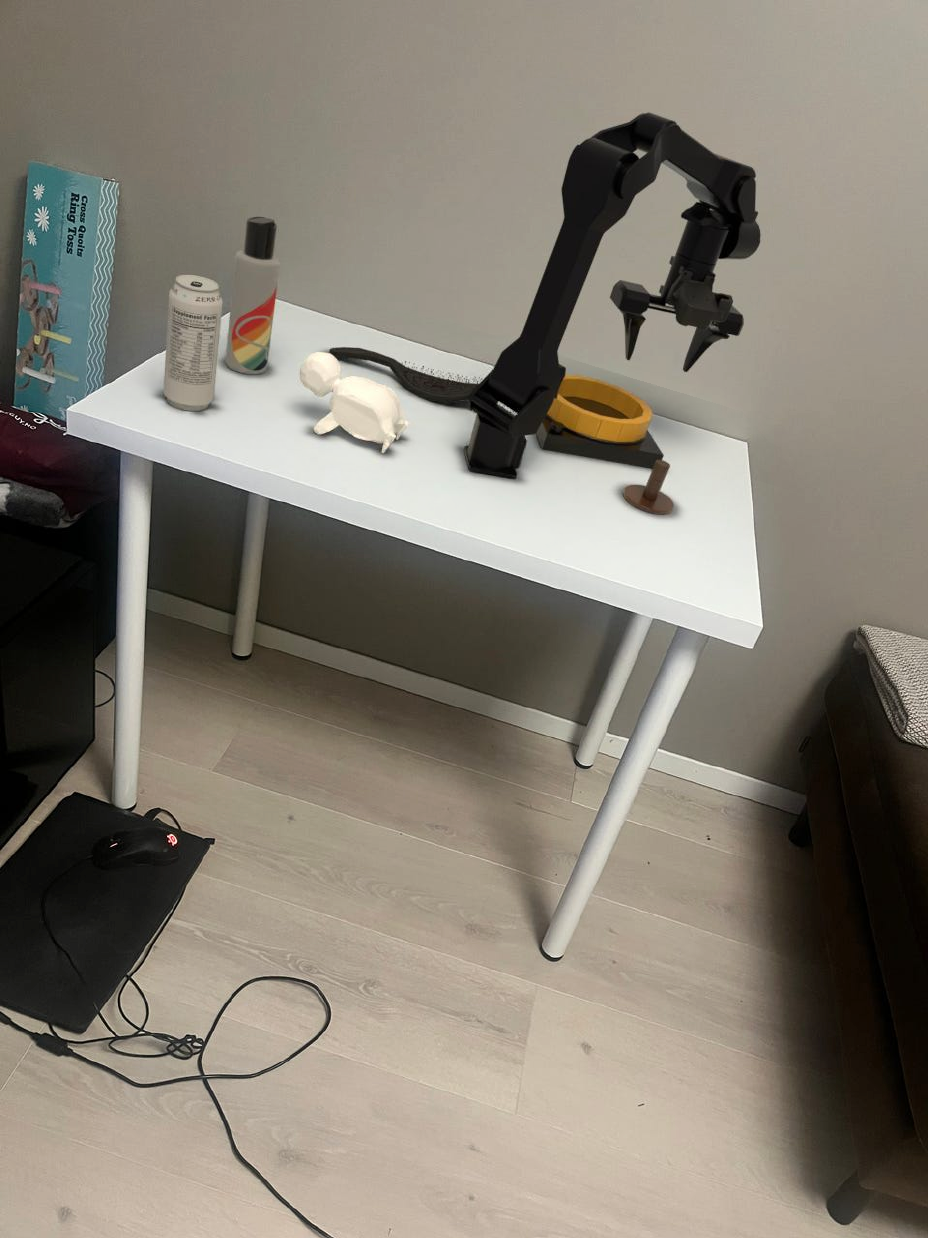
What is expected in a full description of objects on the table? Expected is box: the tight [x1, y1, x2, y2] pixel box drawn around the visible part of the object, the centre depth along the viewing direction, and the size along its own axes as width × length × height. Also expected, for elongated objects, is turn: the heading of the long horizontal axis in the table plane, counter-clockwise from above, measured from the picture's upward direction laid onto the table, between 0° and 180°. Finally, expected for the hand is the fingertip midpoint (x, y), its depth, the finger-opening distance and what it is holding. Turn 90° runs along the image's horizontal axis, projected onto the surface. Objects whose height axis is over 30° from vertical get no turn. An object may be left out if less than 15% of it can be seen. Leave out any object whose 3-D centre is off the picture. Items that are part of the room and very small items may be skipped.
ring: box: [547, 374, 653, 442], centre depth 136 cm, size 16×16×3 cm
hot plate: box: [535, 397, 665, 469], centre depth 138 cm, size 18×18×3 cm
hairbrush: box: [328, 346, 484, 404], centre depth 137 cm, size 8×4×25 cm
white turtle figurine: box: [299, 351, 410, 454], centre depth 117 cm, size 8×8×15 cm
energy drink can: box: [163, 274, 224, 412], centre depth 110 cm, size 6×6×15 cm
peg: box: [622, 459, 675, 516], centre depth 122 cm, size 7×7×6 cm
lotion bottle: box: [225, 216, 281, 375], centre depth 122 cm, size 6×6×20 cm
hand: (656, 365), depth 134 cm, fingers open, 9 cm apart
